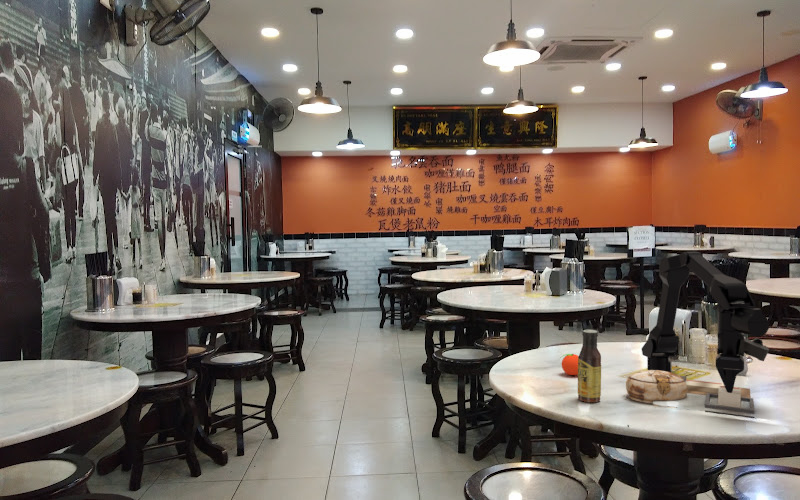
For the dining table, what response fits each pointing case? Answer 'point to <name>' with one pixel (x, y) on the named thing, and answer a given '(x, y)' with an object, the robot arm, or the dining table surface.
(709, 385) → the board
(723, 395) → the stub
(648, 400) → the trinket box
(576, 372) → the clementine
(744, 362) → the salt shaker
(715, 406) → the tray
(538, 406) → the dining table surface
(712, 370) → the dining table surface
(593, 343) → the sauce bottle
